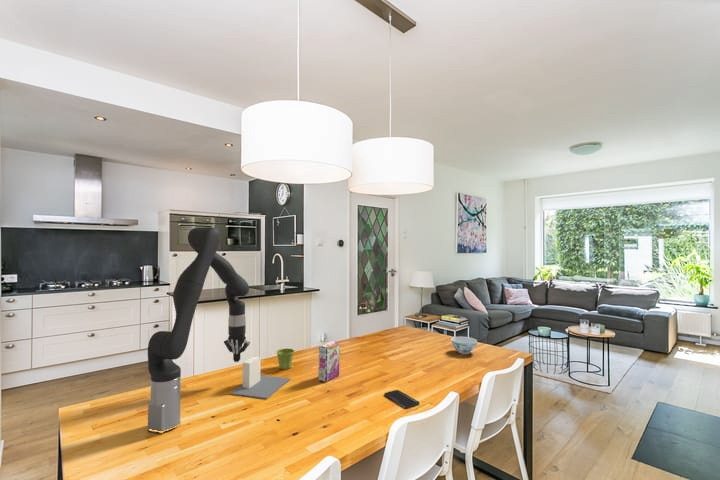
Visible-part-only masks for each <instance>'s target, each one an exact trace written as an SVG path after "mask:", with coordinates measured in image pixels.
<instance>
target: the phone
mask: <svg viewBox="0 0 720 480" xmlns="http://www.w3.org/2000/svg"><path fill="white" fill-rule="evenodd" d="M383 396H384V397H385V398H387V399H389V400H390V401H391V402H393V403H395V404H397V405H398V406H400V407H402V408H403V409H405V410H406V409H407V410H408V409H411V408H414V407H418V406H419V405H420V401H419V400H416V399H415V398H413V397H412V396H409V395H408V394H406V393H404V392H402V391H401V390H398V389H395V390H390V391H388V392H385V393H384V395H383Z"/></svg>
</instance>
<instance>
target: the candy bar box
mask: <svg viewBox="0 0 720 480" xmlns="http://www.w3.org/2000/svg"><path fill="white" fill-rule="evenodd" d="M340 348H341V343H340V342H339V341H333V340H332V341H329V342H326V343H323V344H322V345H319V346H318V381H319V382H323V383H327V382H330V381H331V380H333V379H336V378H337V377H338V376H340V355H341V349H340Z"/></svg>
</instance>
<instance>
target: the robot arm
mask: <svg viewBox="0 0 720 480" xmlns="http://www.w3.org/2000/svg"><path fill="white" fill-rule="evenodd" d="M187 234H188V235H187V242H188V244H189V246H190V247H191V249H193V251H194V252H196V253H197V255H196V257H195V258H194V260H193V261H192V262H191V263H190V264H189V265H188V266H187V267H186V268H185V269H184V270H183V271H182V272H181V274H179V277H178V278H177V281H176V284H175V286H174V290H173V292H172V293H173V294H172V299H173V300H172V301H173V305H174V309H175V319H174V323H173V327H172V328H171V329H172V330H171V331H168V330H166V331H164V330H159V331H157V332H154V333H153V335H151V336H150V339H149V340H148V344H147V366H148V367H147V368H148V373H149V376H150V402H149V403H148V404H147V430H148V429H152V430H157V431H164V430H167V429H170V428H173V427H175V426H177V425H178V424H179V423H180V424H181V388H182V387H181V380H182V379H181V378H182V377H181V376H182V375H181V374H182V369H181V367H180V365H178V364H176V363H175V362H174V361H173V360H177V359H179V358H181V357H182V355H183V354H184V352H185V351H186V347H187V344H188V341H189V336H190V332H191V327H192V324H193V319H194V317H195V316H194V315H195V311H196V310H197V309H196V308H197V305H198V303H199V299H200V297H201V294H202V292H203V291H202V290H203V288H204V285H205V282H206V278H207V275H208V272H209V269H210V268H212V269H213V270H214V272H215V273H216V275H217V276H218V277H219V279H220V280H221V281H222V283H224V284H225V288H224V291H225V296H226V300H227V303H228V320H227V322H228V326H227V328H228V334H227V335H228V337H227V339H226V340H224V341H223V343H224V345H225V347H226V349H227V350H228V352H229V353H232V355H233V359H232V360H233V362H234V363H238V362H240V360H241V353H243V352H245V351H246V350H247V348H248V347H249V346H250V344H251V342H250V341H249V340H247V338H246V330H247V329H246V327H247V326H246V323H247V322H246V320H247V319H246V303H245V301H243V300H240V298H239V297H246V296H247V295H248V294H249V291H250V286H249V283H248V282H247V280H246V279H244V278H243V277H242V276H241V275H240V274H238V273H237V271H236V270H235V268H234V266H233V265H232V263H230V262H229V260H227V259H226V258H225V257H223V256H222V255H220V254H219V253H217V251H218V249H219V246H220V242H221V232H220V230H219V229H218V228H216V227H210V226H209V227H207V226H206V227H205V226H204V227H203V226H201V227H195V228H192V229H190V230H189V232H188V233H187Z"/></svg>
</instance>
